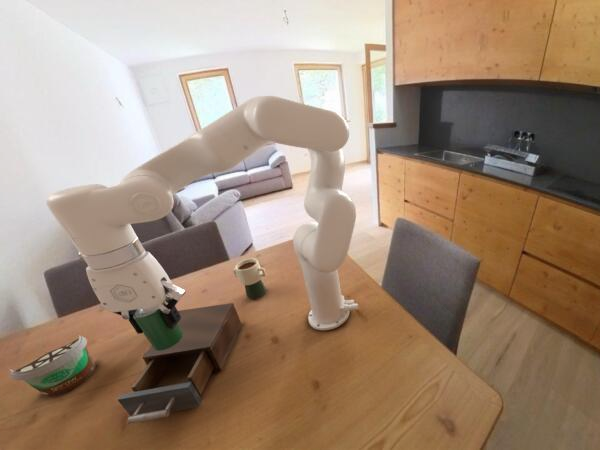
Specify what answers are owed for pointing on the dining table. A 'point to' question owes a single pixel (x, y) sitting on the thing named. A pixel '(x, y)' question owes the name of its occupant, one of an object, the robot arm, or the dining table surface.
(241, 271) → the character mug
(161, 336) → the can
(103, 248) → the robot arm
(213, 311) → the cabinet
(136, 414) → the drawer
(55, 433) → the dining table surface
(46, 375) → the food container
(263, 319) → the dining table surface
